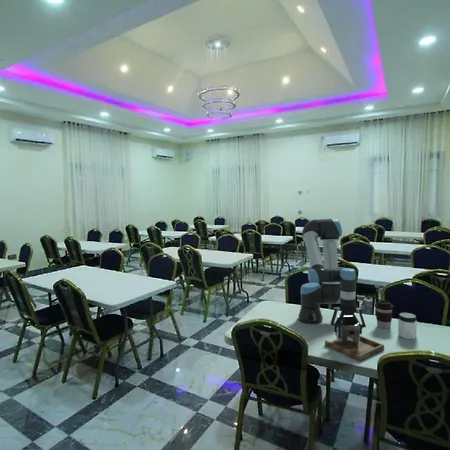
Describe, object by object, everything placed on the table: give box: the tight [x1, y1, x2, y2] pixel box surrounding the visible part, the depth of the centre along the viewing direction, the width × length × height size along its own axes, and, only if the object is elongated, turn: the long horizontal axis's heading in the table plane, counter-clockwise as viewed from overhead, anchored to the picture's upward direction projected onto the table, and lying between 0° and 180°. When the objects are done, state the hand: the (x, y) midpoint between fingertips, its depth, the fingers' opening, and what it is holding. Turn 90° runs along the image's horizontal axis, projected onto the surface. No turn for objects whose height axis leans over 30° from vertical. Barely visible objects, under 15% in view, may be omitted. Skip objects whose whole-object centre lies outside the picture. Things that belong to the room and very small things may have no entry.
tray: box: [324, 335, 385, 362], centre depth 168 cm, size 21×20×2 cm
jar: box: [397, 312, 418, 340], centre depth 178 cm, size 9×8×12 cm
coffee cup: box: [374, 300, 394, 330], centre depth 191 cm, size 10×10×15 cm
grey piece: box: [335, 315, 361, 346], centre depth 171 cm, size 9×9×12 cm
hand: (347, 338), depth 170 cm, fingers closed on grey piece, 10 cm apart
